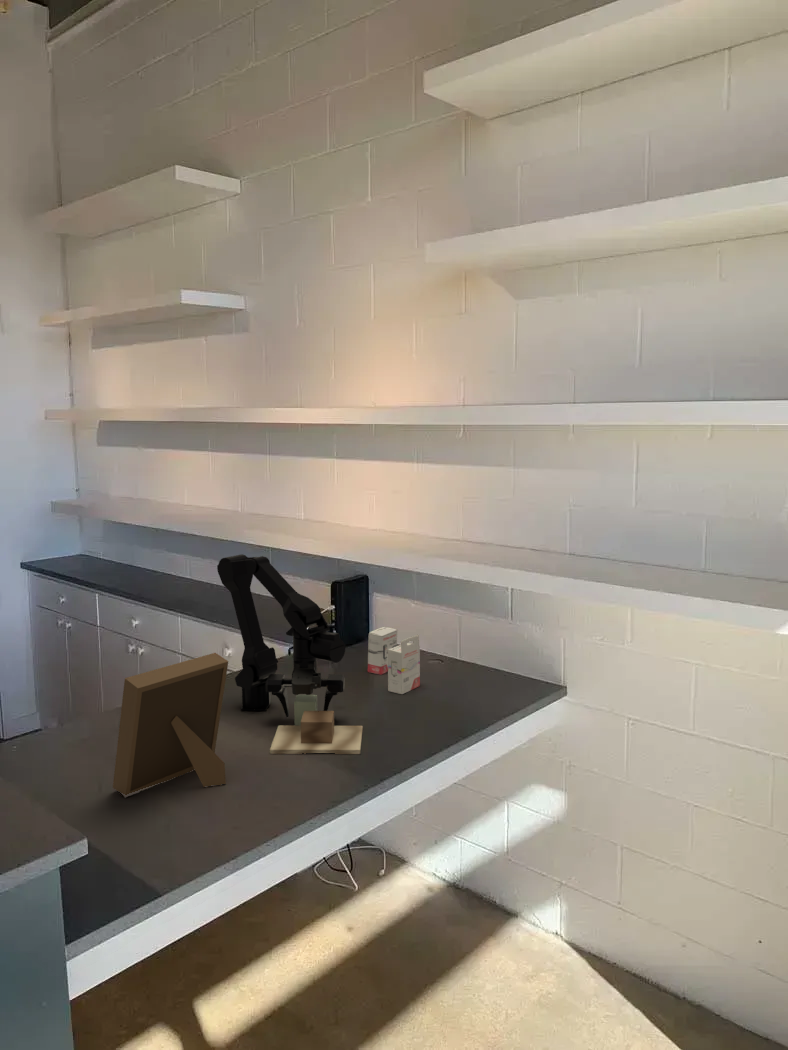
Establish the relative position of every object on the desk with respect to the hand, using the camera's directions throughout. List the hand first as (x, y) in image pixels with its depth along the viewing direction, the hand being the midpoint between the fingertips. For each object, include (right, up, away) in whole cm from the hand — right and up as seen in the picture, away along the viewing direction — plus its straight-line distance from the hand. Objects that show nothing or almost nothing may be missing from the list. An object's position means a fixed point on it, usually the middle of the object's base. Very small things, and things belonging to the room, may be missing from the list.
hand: (306, 716), depth 207 cm
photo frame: (-22, -6, -33) cm, 41 cm away
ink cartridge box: (+24, +2, +24) cm, 34 cm away
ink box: (+18, +4, +40) cm, 44 cm away
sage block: (0, -1, 0) cm, 1 cm away
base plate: (+4, -3, -12) cm, 13 cm away
